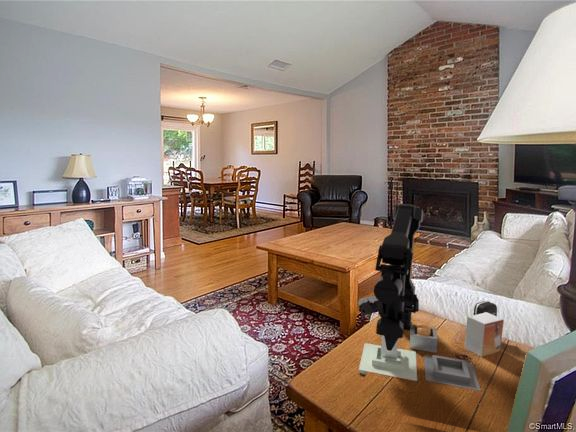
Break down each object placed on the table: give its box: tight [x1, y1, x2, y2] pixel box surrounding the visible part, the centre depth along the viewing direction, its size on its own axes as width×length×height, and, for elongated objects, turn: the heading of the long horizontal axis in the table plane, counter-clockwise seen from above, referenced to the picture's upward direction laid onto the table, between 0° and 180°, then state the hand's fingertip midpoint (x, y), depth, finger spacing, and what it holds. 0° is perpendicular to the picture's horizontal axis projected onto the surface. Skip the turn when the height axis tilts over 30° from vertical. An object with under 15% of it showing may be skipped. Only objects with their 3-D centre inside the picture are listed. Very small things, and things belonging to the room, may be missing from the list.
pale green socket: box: [358, 342, 418, 382], centre depth 94 cm, size 14×14×2 cm
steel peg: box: [380, 335, 399, 360], centre depth 93 cm, size 4×4×8 cm
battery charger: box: [472, 300, 498, 317], centre depth 107 cm, size 7×4×11 cm, turn 119°
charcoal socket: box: [423, 354, 482, 392], centre depth 89 cm, size 12×12×2 cm
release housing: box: [409, 323, 439, 354], centre depth 102 cm, size 7×7×5 cm
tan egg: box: [417, 324, 431, 336], centre depth 102 cm, size 4×4×5 cm
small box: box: [464, 312, 505, 358], centre depth 99 cm, size 8×6×10 cm
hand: (389, 346), depth 93 cm, fingers closed on steel peg, 4 cm apart
